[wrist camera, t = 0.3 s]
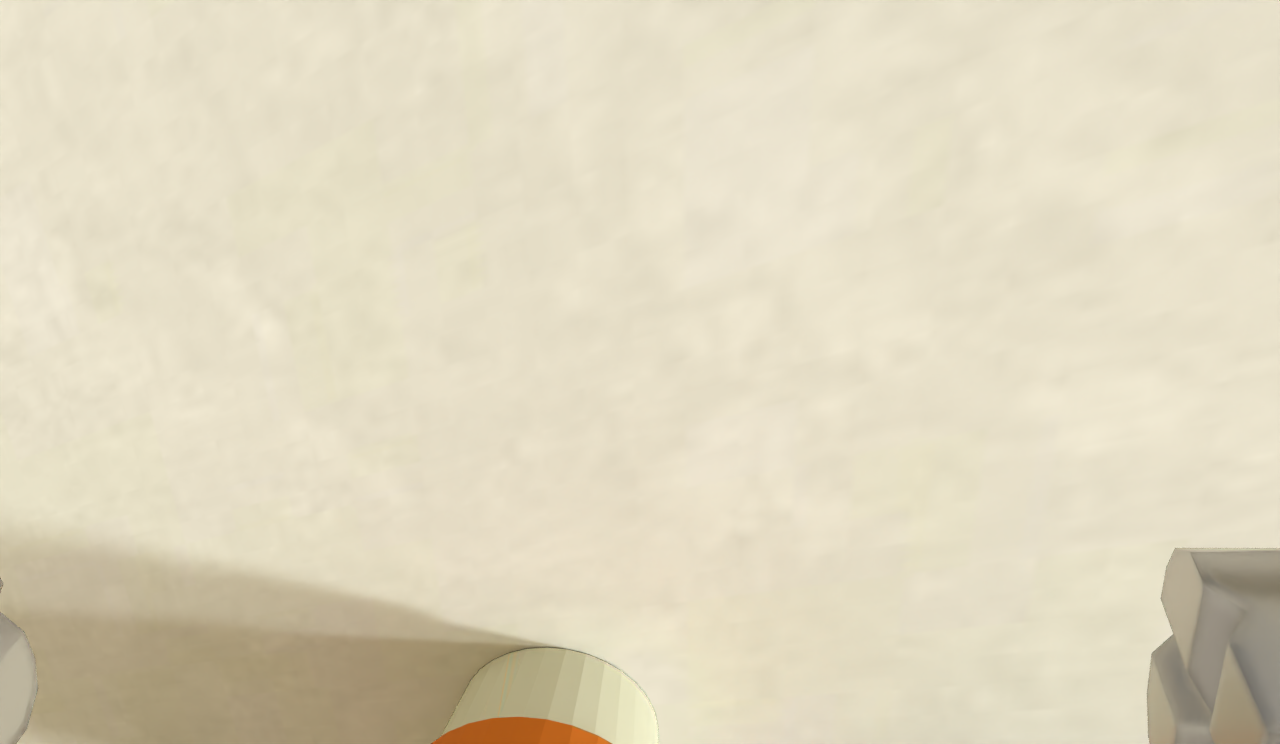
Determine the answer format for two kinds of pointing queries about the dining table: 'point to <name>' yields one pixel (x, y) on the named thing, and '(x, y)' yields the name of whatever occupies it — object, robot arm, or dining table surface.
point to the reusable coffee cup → (551, 703)
